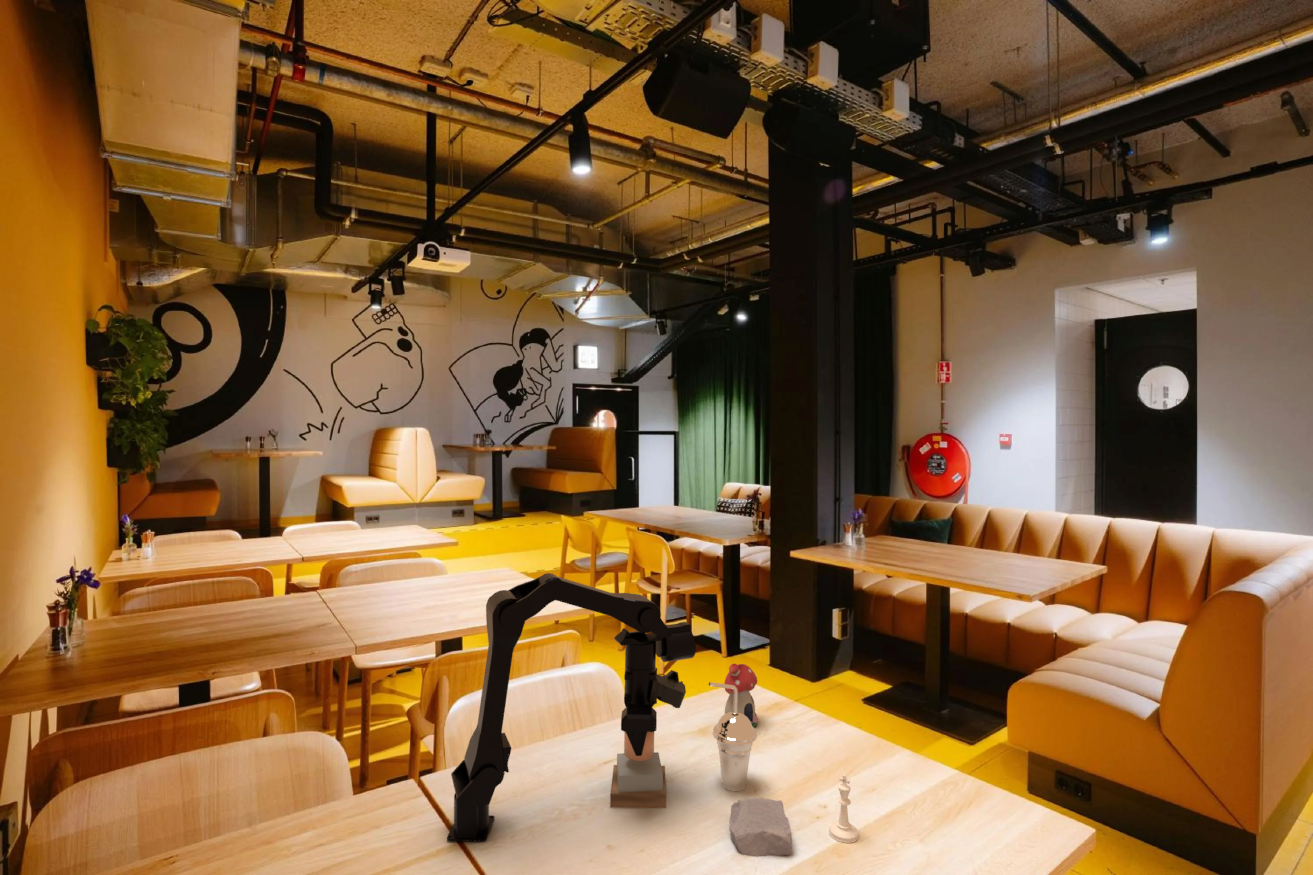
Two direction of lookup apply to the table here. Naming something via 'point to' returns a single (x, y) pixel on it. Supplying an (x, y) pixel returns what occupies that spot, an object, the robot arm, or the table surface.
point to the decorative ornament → (741, 691)
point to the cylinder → (647, 750)
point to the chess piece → (843, 817)
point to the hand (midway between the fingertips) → (639, 747)
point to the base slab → (637, 795)
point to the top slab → (639, 774)
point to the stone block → (760, 827)
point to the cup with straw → (734, 744)
